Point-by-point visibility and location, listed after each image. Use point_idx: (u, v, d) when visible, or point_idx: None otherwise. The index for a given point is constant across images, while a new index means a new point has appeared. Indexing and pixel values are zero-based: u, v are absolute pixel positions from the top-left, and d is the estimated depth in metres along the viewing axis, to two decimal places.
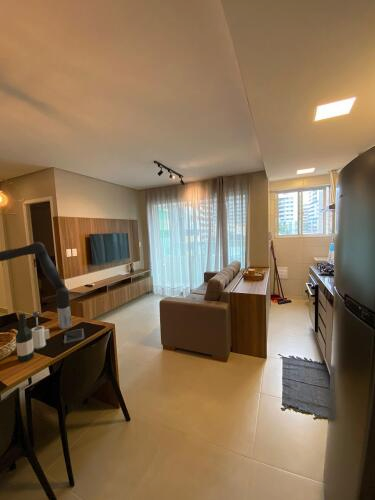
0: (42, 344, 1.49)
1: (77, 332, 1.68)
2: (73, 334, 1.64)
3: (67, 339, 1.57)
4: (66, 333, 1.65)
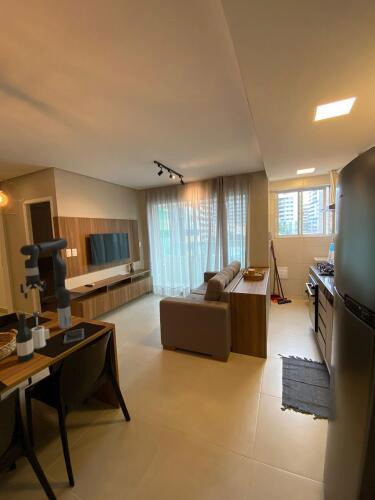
0: (42, 344, 1.49)
1: (77, 332, 1.68)
2: (73, 334, 1.64)
3: (67, 339, 1.57)
4: (66, 333, 1.65)
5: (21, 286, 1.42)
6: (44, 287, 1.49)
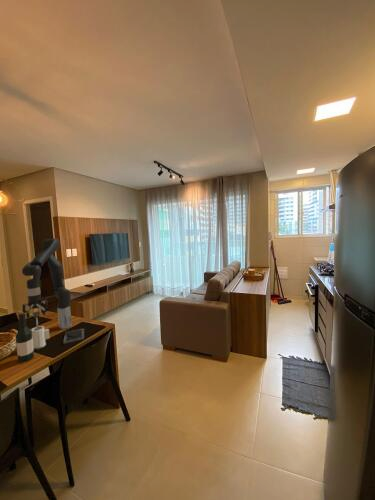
0: (42, 344, 1.49)
1: (77, 332, 1.68)
2: (73, 334, 1.64)
3: (67, 339, 1.57)
4: (66, 333, 1.65)
5: (23, 306, 1.43)
6: (46, 306, 1.50)
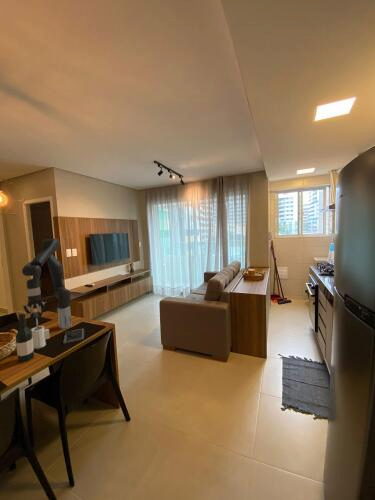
0: (42, 344, 1.49)
1: (77, 332, 1.68)
2: (73, 334, 1.64)
3: (67, 339, 1.57)
4: (66, 333, 1.65)
5: (24, 308, 1.44)
6: (43, 308, 1.49)
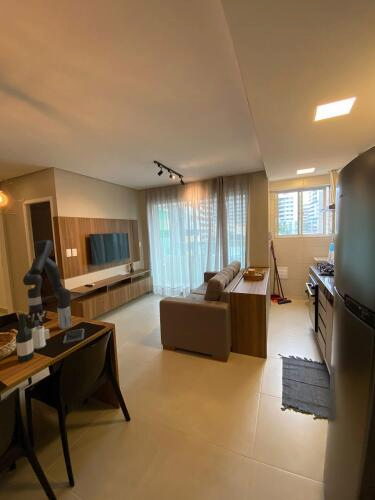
0: (42, 344, 1.49)
1: (77, 332, 1.68)
2: (73, 334, 1.64)
3: (67, 339, 1.57)
4: (66, 333, 1.66)
5: (25, 317, 1.44)
6: (44, 317, 1.50)
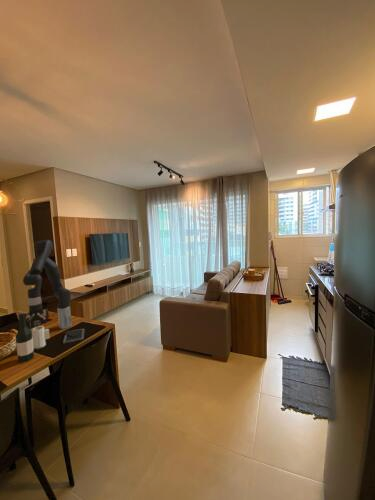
0: (42, 344, 1.49)
1: (77, 332, 1.68)
2: (73, 334, 1.64)
3: (67, 339, 1.57)
4: (67, 333, 1.66)
5: None
6: (47, 315, 1.50)
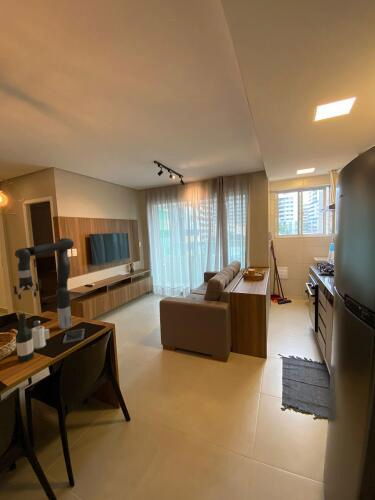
0: (42, 344, 1.49)
1: (78, 332, 1.68)
2: (73, 334, 1.64)
3: (67, 339, 1.57)
4: (67, 333, 1.66)
5: (15, 288, 1.50)
6: (37, 288, 1.57)
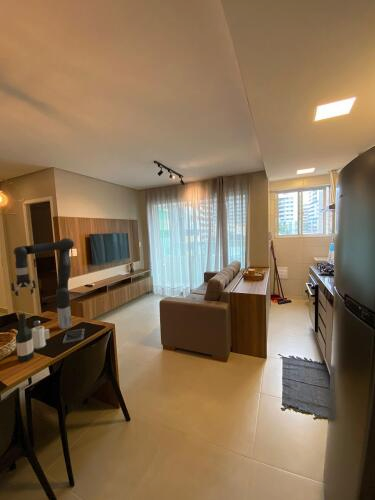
0: (42, 344, 1.49)
1: (78, 332, 1.68)
2: (73, 334, 1.64)
3: (66, 339, 1.58)
4: (67, 333, 1.66)
5: (12, 284, 1.54)
6: (34, 285, 1.60)
